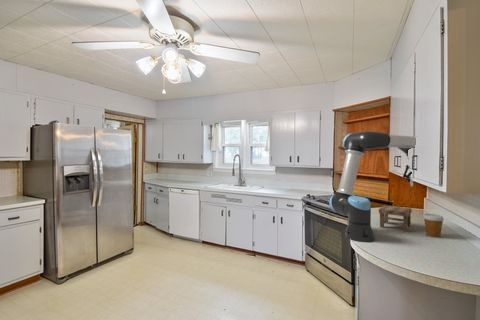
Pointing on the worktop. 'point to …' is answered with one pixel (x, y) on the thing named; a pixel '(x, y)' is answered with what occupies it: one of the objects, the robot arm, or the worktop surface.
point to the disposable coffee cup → (433, 225)
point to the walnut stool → (395, 211)
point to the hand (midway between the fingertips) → (425, 185)
